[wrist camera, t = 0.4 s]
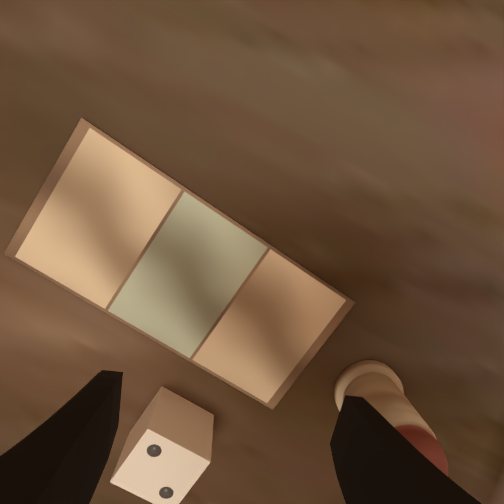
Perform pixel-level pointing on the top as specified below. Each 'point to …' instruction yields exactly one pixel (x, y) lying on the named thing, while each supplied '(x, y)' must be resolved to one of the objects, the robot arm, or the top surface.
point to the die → (165, 449)
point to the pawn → (389, 405)
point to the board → (175, 268)
